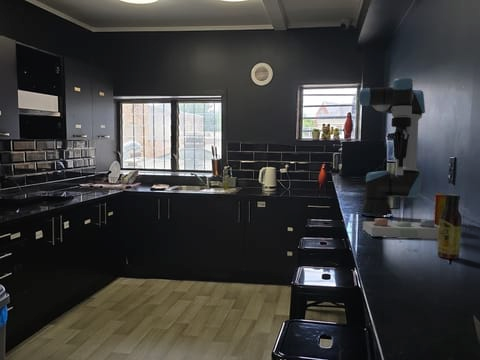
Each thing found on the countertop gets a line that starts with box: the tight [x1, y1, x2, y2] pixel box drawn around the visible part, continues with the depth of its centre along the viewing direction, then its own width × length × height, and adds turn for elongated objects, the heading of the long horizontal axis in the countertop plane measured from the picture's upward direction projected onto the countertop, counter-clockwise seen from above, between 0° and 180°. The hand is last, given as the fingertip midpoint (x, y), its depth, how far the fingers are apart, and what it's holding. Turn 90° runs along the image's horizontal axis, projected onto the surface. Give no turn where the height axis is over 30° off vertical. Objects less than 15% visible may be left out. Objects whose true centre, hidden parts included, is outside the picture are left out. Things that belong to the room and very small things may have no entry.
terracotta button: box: [373, 218, 389, 226], centre depth 172 cm, size 5×5×3 cm
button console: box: [362, 220, 439, 240], centre depth 174 cm, size 15×28×4 cm, turn 88°
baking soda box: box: [432, 192, 447, 226], centre depth 184 cm, size 10×6×16 cm
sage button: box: [397, 221, 412, 227], centre depth 172 cm, size 5×5×3 cm
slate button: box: [420, 218, 435, 228], centre depth 172 cm, size 5×5×3 cm
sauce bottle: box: [437, 193, 463, 260], centre depth 136 cm, size 6×6×20 cm
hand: (399, 174), depth 180 cm, fingers closed
